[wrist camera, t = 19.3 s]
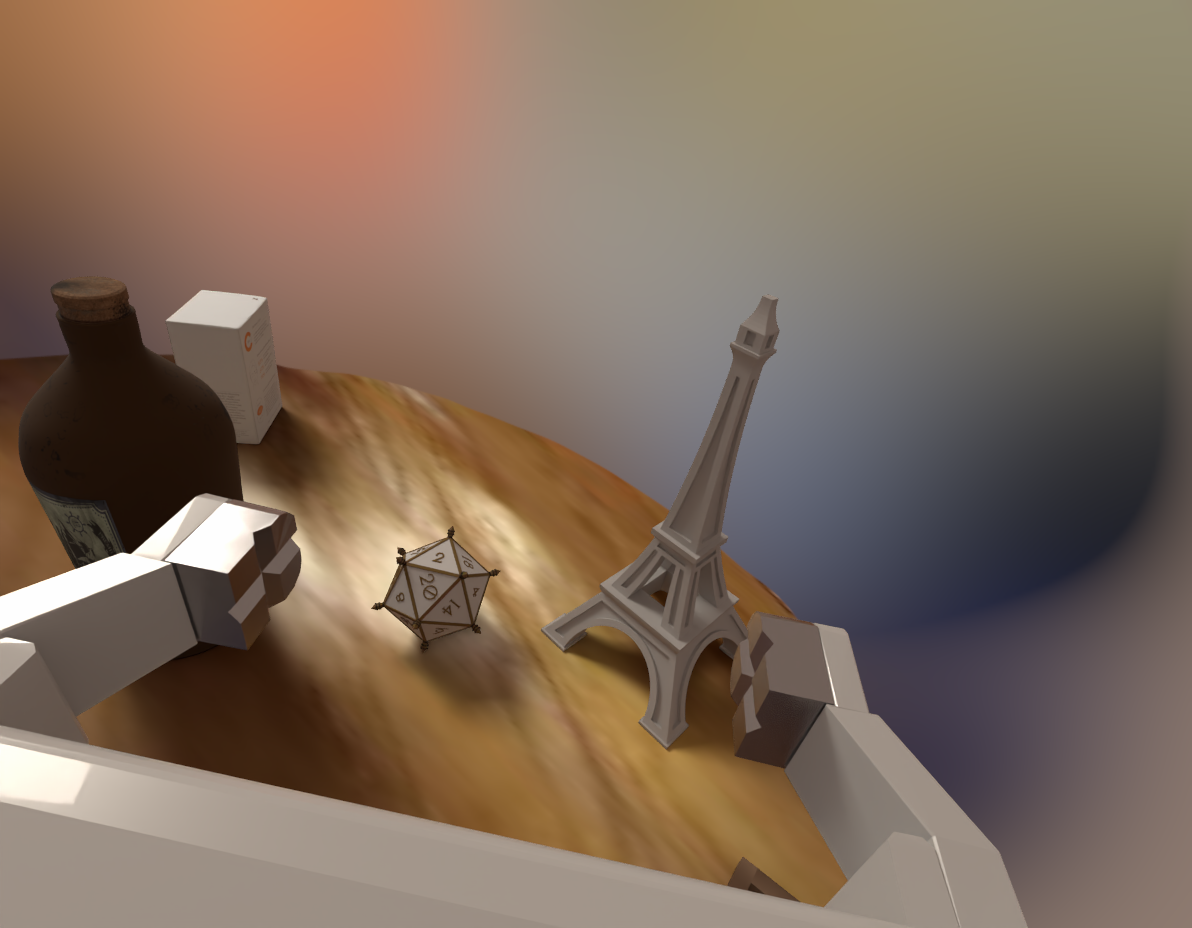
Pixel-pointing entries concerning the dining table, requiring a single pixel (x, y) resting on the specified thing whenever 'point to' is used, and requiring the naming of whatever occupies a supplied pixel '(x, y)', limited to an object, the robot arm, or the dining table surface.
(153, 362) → the olive oil
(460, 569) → the game die
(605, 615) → the eiffel tower
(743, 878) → the tray
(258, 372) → the small box
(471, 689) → the dining table surface
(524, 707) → the dining table surface
